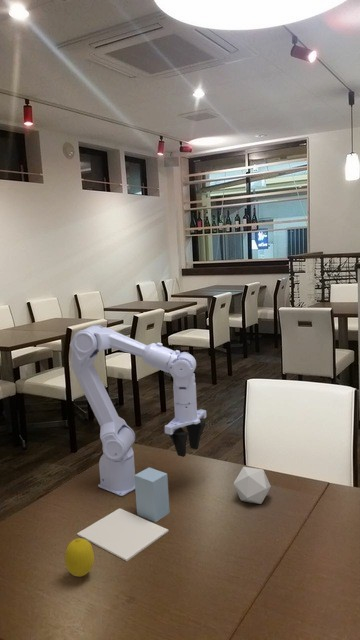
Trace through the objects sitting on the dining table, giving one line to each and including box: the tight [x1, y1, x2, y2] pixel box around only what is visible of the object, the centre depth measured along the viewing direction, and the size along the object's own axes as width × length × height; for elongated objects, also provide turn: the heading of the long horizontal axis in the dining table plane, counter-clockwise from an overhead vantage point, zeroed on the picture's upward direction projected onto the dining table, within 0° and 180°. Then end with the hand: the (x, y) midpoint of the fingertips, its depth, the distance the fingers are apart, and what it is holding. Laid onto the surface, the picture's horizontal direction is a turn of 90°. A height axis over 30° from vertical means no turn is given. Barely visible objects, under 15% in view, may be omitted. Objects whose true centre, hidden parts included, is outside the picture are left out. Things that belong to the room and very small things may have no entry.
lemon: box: [64, 537, 95, 578], centre depth 96 cm, size 6×6×8 cm
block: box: [134, 467, 171, 523], centre depth 117 cm, size 6×5×10 cm
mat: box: [76, 507, 170, 562], centre depth 110 cm, size 16×13×1 cm
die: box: [233, 466, 272, 505], centre depth 121 cm, size 8×9×10 cm
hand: (187, 452), depth 127 cm, fingers open, 5 cm apart
